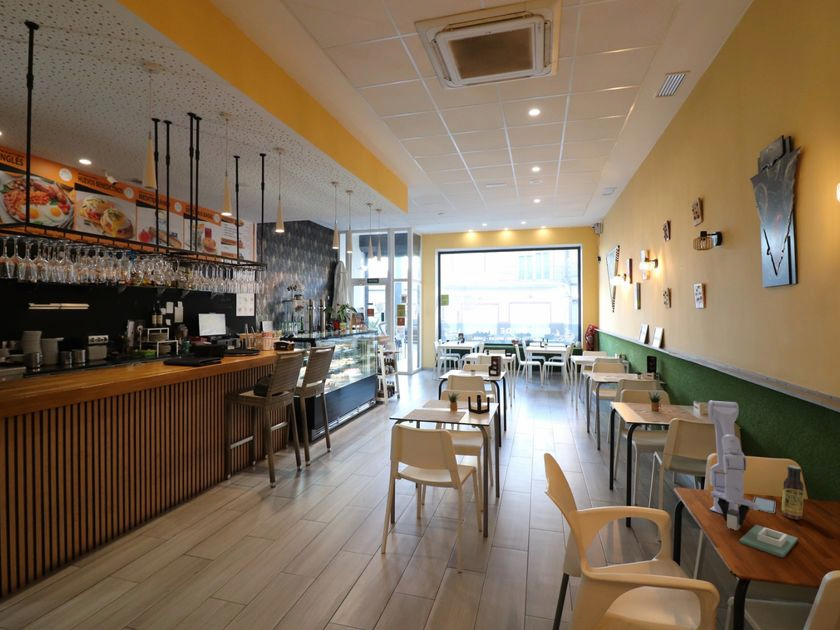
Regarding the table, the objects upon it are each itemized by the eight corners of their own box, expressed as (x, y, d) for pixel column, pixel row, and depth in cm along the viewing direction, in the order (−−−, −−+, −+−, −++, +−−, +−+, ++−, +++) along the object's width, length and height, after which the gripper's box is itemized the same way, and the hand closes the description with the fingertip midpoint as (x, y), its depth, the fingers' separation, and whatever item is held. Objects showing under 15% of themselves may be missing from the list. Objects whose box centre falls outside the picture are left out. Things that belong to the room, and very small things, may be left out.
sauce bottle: (783, 518, 170) (784, 467, 170) (779, 511, 176) (780, 462, 176) (805, 522, 167) (806, 470, 167) (800, 515, 173) (801, 465, 173)
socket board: (755, 527, 163) (756, 519, 163) (797, 540, 153) (797, 532, 153) (739, 542, 152) (739, 533, 152) (783, 557, 142) (783, 548, 142)
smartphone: (776, 501, 185) (774, 512, 174) (776, 503, 185) (774, 515, 174) (754, 496, 190) (751, 507, 179) (754, 498, 190) (751, 509, 179)
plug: (730, 524, 165) (730, 508, 165) (740, 527, 163) (740, 511, 163) (726, 527, 162) (727, 511, 162) (736, 530, 160) (736, 514, 160)
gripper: (707, 482, 166) (707, 518, 166) (754, 495, 154) (753, 533, 154) (714, 478, 170) (714, 513, 170) (760, 490, 159) (760, 527, 159)
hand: (733, 522), depth 162 cm, fingers open, 4 cm apart
